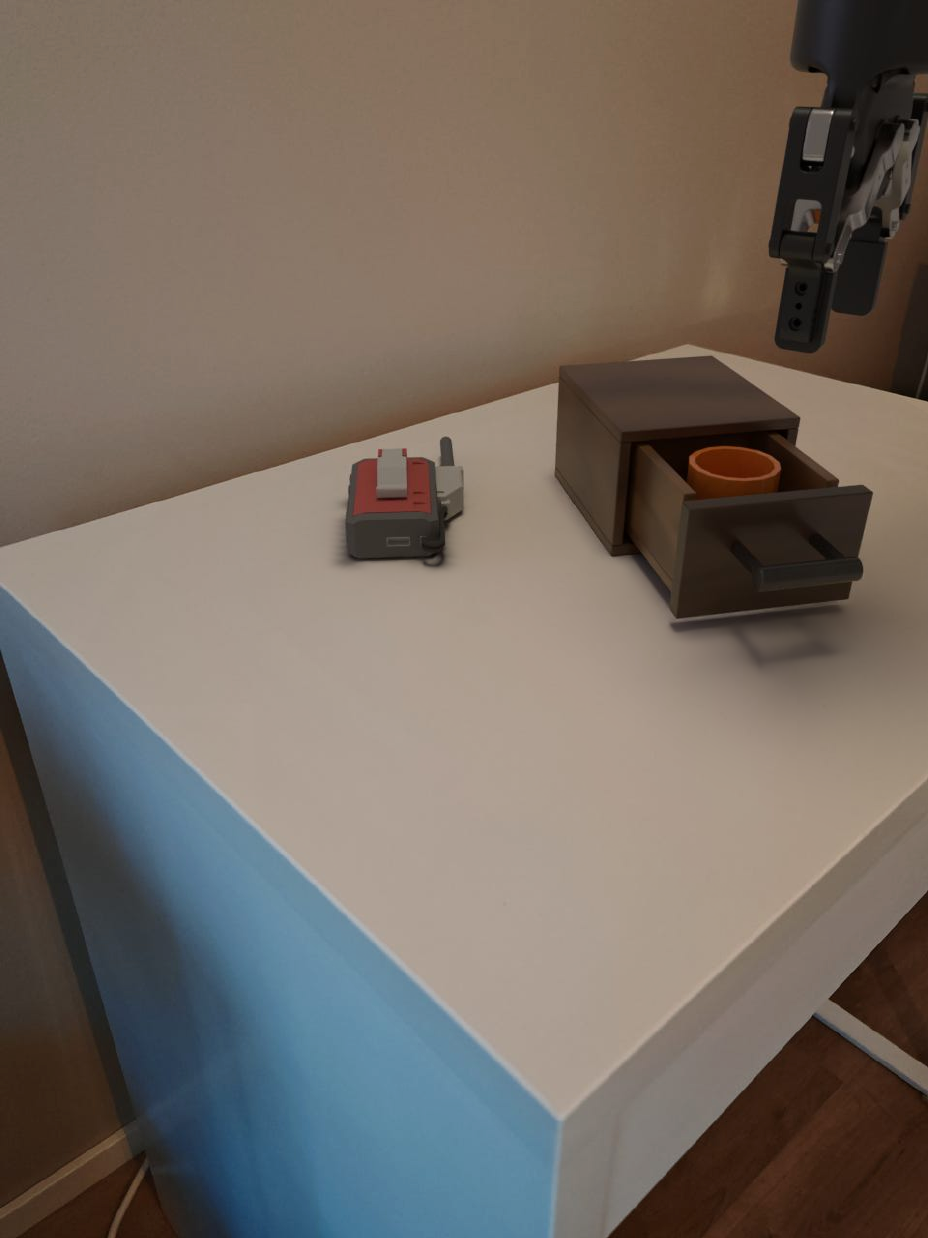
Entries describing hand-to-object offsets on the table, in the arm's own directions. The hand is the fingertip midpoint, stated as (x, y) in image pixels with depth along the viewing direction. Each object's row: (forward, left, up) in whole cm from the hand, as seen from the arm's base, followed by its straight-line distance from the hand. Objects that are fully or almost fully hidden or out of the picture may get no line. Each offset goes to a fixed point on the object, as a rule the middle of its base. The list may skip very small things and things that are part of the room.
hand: (826, 329), depth 49 cm
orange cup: (0, -7, -16) cm, 18 cm away
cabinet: (0, -19, -18) cm, 26 cm away
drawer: (0, -6, -17) cm, 18 cm away
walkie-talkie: (+19, -23, -18) cm, 35 cm away
